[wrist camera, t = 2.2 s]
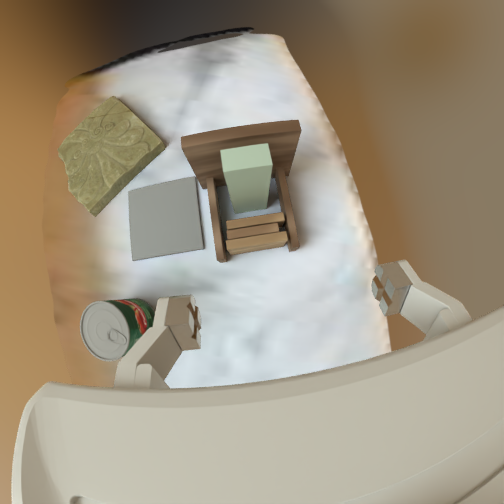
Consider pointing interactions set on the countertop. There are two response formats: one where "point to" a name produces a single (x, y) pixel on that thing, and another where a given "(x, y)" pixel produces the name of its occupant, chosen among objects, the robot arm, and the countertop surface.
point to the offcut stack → (255, 233)
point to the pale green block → (247, 176)
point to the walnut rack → (210, 143)
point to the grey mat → (165, 219)
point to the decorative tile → (107, 153)
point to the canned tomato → (115, 326)
